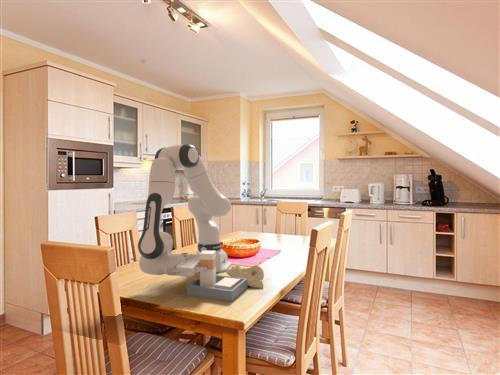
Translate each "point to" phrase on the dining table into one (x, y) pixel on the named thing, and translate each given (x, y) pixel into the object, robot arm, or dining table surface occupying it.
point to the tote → (217, 289)
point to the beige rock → (248, 275)
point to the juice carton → (210, 261)
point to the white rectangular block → (227, 283)
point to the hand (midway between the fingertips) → (210, 265)
